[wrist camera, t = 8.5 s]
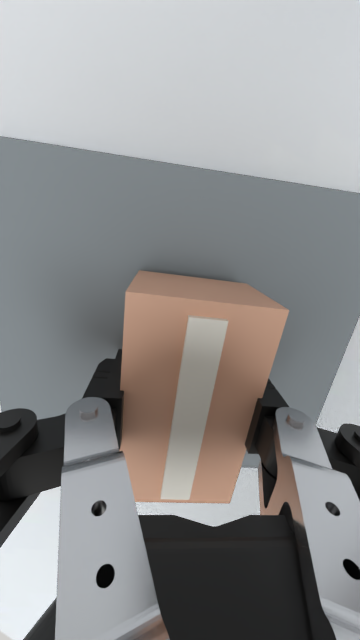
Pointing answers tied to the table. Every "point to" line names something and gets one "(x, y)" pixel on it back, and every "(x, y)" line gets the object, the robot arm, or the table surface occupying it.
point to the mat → (162, 264)
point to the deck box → (192, 382)
